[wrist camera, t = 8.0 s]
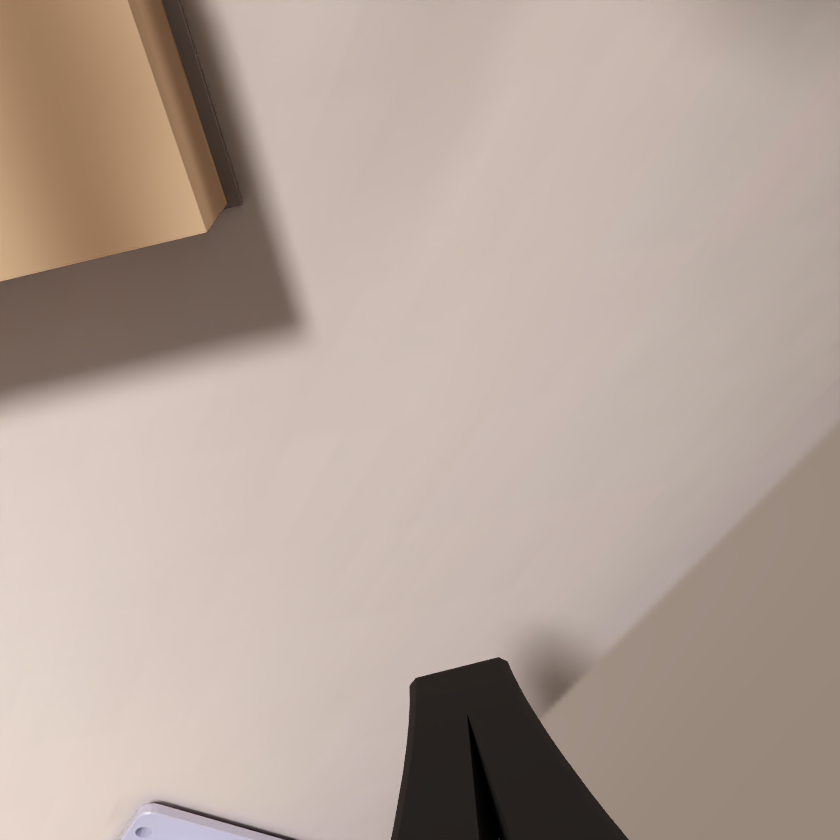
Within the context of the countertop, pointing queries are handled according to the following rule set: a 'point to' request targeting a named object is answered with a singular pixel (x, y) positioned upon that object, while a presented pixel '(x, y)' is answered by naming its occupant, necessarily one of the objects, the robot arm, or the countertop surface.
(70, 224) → the body
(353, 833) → the countertop surface
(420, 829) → the robot arm
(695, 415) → the countertop surface
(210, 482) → the countertop surface
